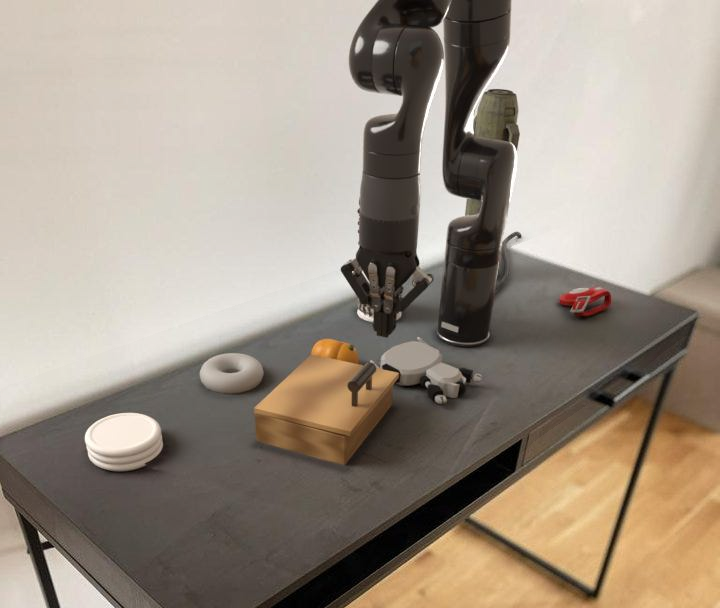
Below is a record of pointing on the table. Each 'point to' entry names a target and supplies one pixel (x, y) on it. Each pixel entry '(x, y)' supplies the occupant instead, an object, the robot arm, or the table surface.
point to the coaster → (123, 441)
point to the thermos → (495, 127)
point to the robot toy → (426, 370)
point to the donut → (231, 373)
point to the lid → (328, 394)
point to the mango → (336, 350)
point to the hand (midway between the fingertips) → (383, 334)
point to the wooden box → (319, 434)
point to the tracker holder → (585, 300)
